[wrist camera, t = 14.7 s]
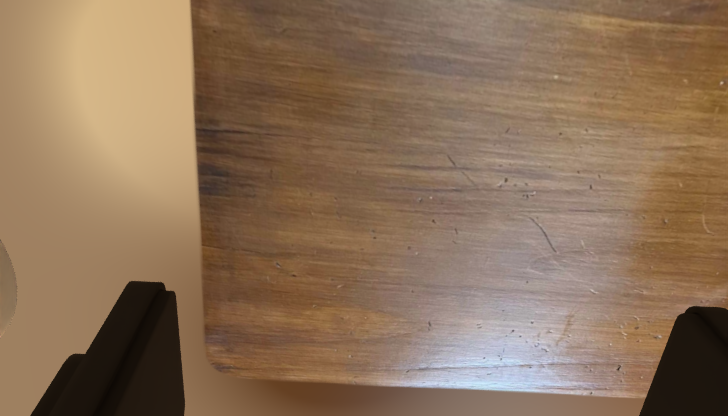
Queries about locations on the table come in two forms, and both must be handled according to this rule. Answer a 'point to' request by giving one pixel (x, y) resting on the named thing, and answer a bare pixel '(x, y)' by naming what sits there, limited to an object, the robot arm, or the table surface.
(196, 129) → the table surface
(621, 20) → the table surface
